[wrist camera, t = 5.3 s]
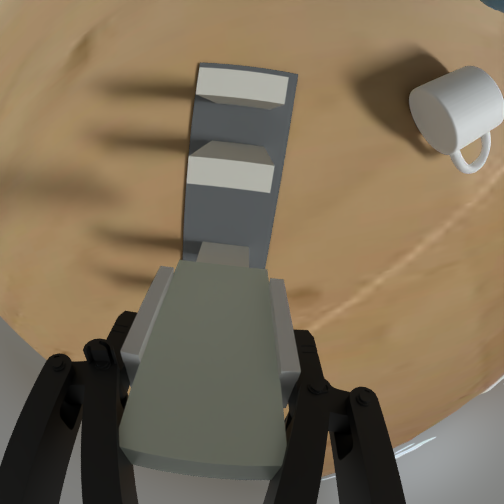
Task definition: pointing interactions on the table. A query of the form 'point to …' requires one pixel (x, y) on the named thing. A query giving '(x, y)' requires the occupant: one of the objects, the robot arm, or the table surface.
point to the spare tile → (209, 380)
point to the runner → (230, 199)
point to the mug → (458, 113)
